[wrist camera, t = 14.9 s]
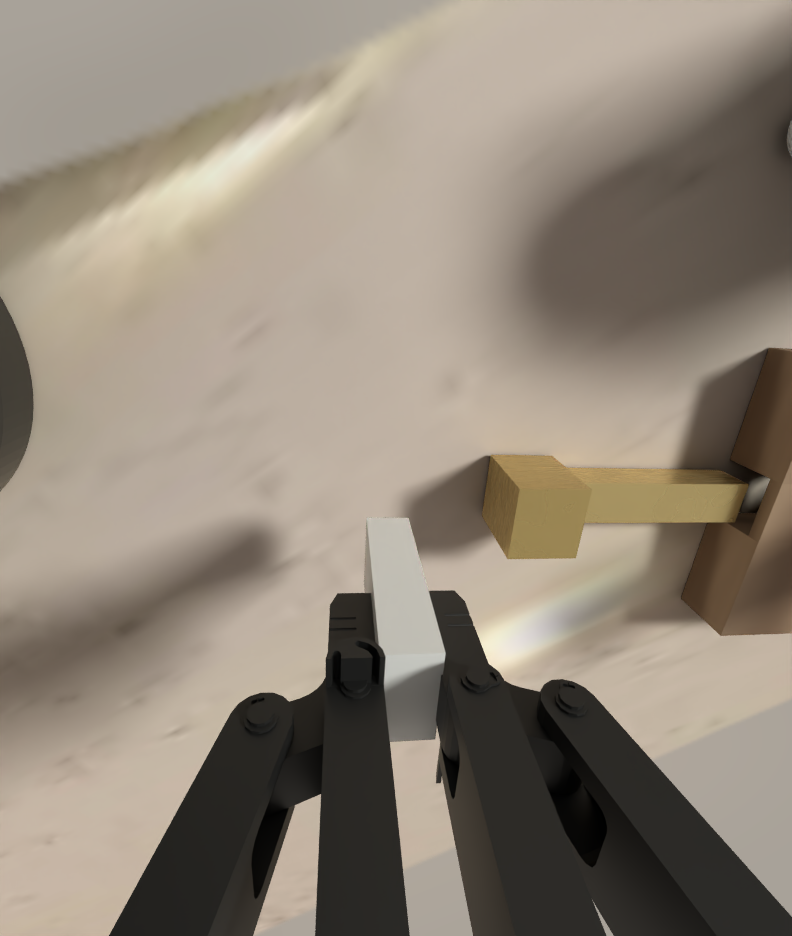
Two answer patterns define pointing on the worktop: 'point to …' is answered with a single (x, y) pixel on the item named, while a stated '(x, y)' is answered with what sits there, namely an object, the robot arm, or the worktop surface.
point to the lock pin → (594, 501)
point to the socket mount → (754, 523)
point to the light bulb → (789, 138)
